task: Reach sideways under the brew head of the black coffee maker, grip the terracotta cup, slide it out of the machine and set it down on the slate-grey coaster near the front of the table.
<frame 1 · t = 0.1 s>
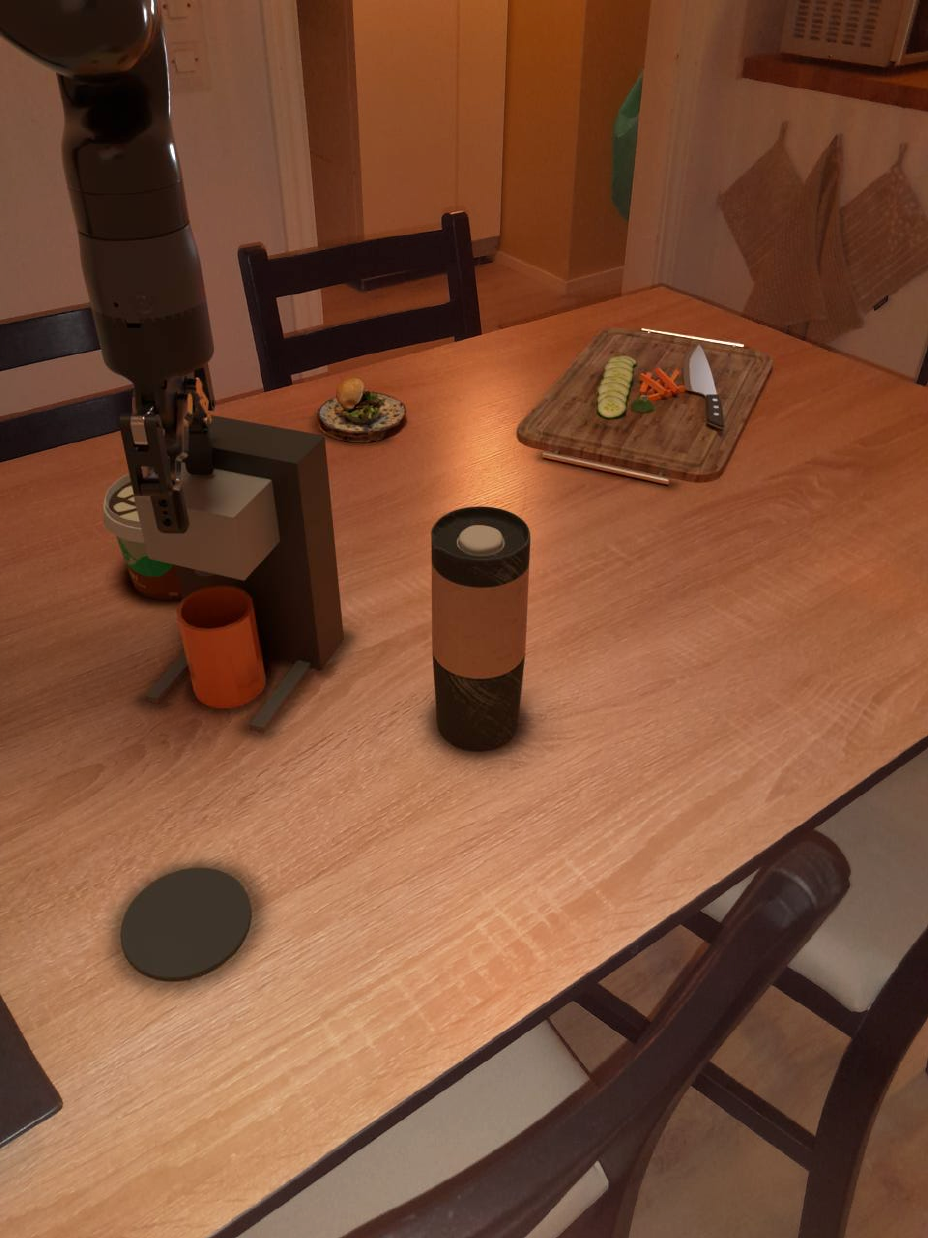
hand: (188, 500, 75), 20 cm above the table, tool pointing down, fingers open, 8 cm apart
cup: (230, 685, 88), on the table
coaster: (187, 924, 69), on the table
travel mug: (477, 724, 85), on the table
coffee maker: (244, 668, 90), on the table
chopping board: (652, 401, 135), on the table
food container: (155, 586, 101), on the table
plate of food: (362, 423, 129), on the table
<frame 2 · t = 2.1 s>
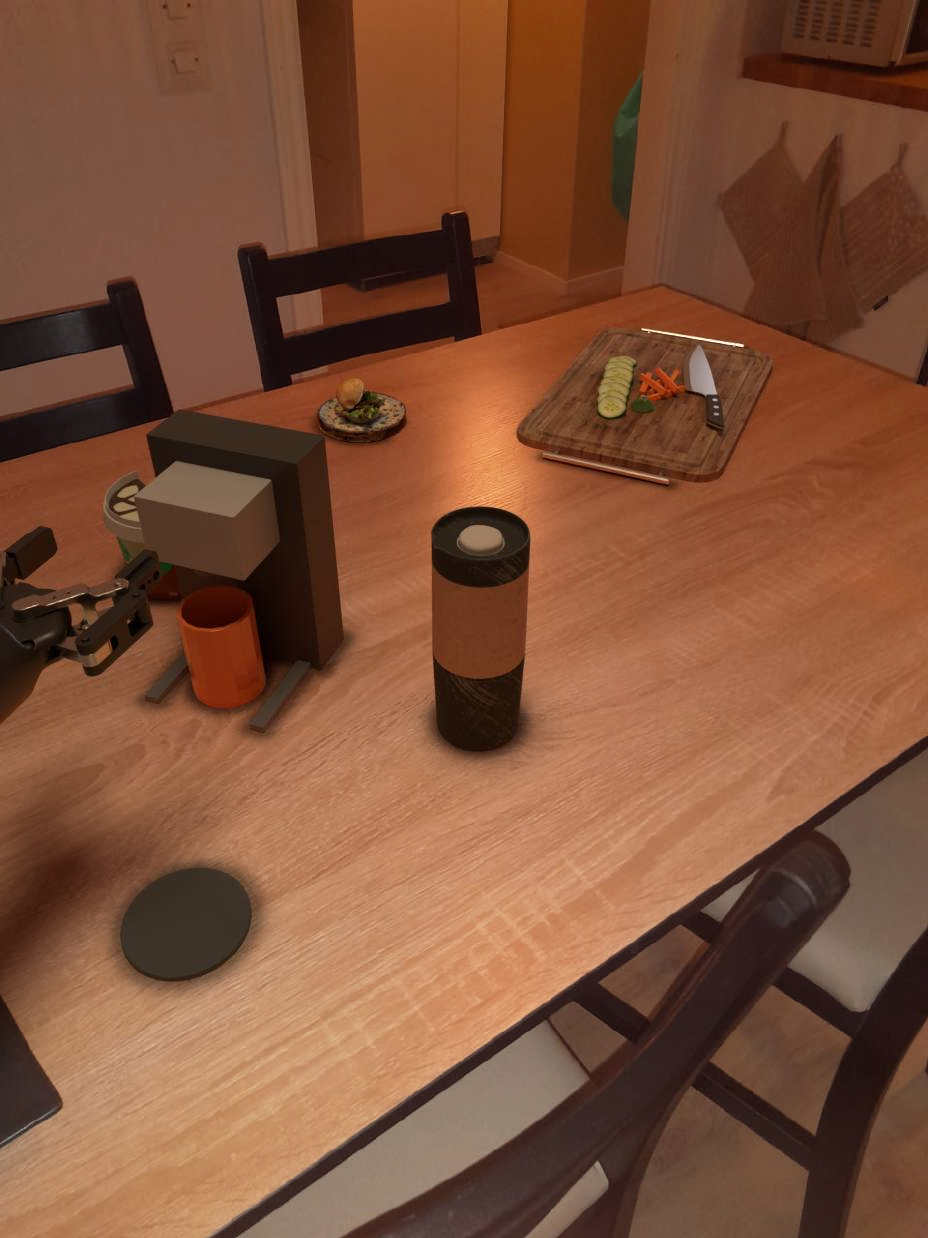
hand: (101, 548, 67), 22 cm above the table, tool horizontal, fingers open, 8 cm apart
nothing on the table moved.
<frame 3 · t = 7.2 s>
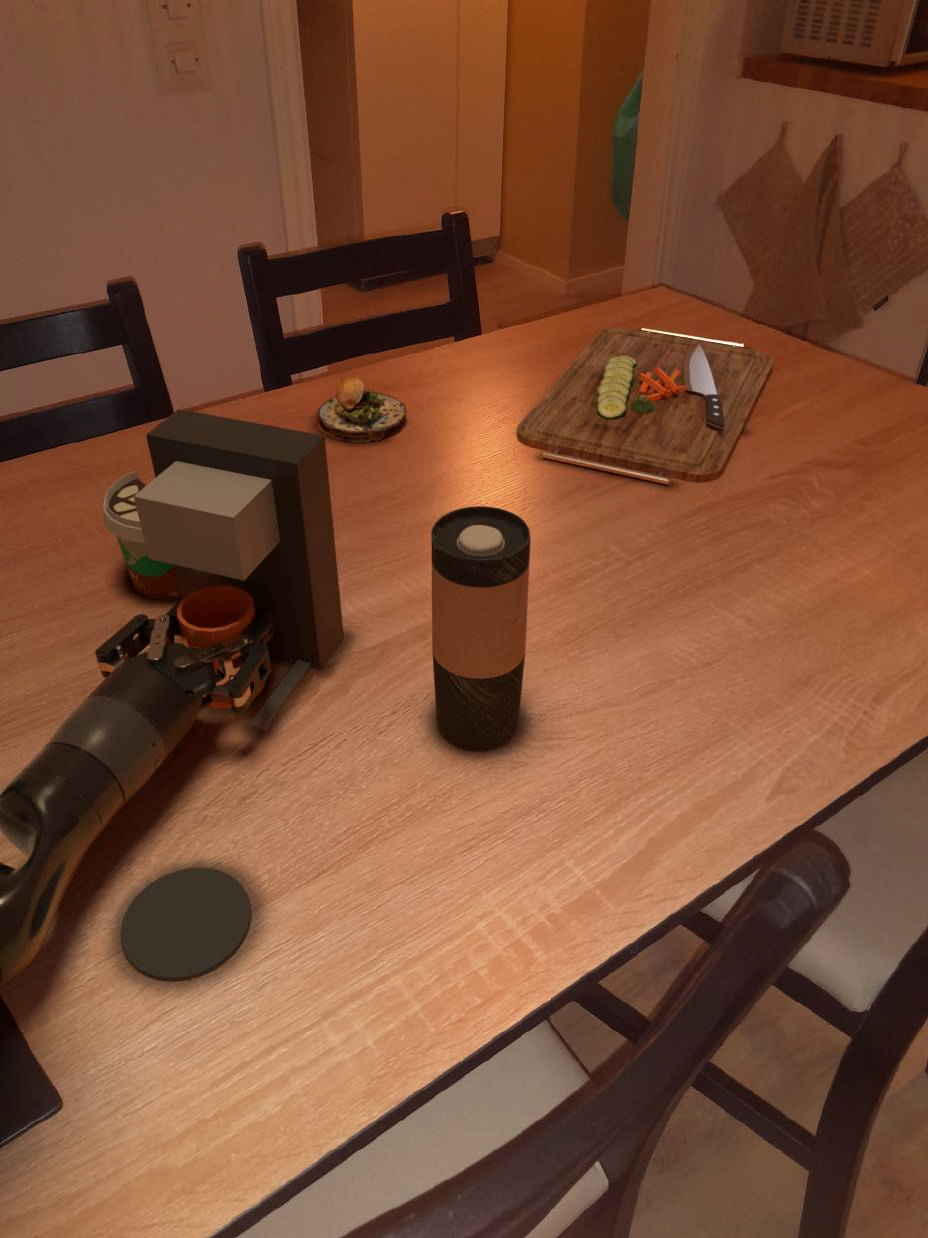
hand: (231, 610, 86), 7 cm above the table, tool horizontal, fingers closed on cup, 6 cm apart
cup: (230, 685, 89), on the table, touching gripper
everything else where it was.
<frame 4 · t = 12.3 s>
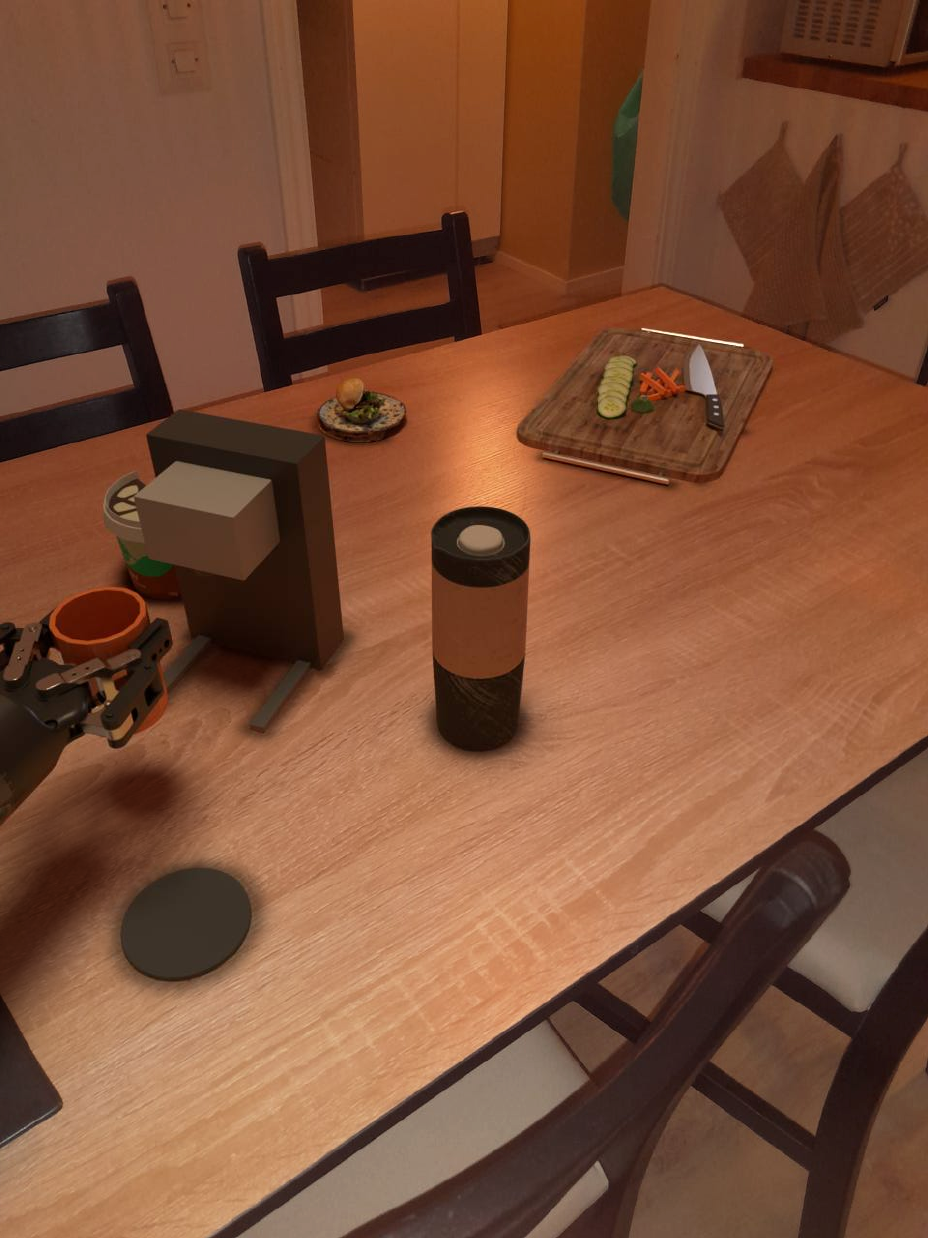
hand: (123, 617, 70), 16 cm above the table, tool horizontal, fingers closed on cup, 6 cm apart
cup: (124, 707, 73), point 9 cm above the table, touching gripper
everything else where it was.
when the fingers open (8 cm above the table, at t = 17.7 s): cup stays where it is, resting on coaster.
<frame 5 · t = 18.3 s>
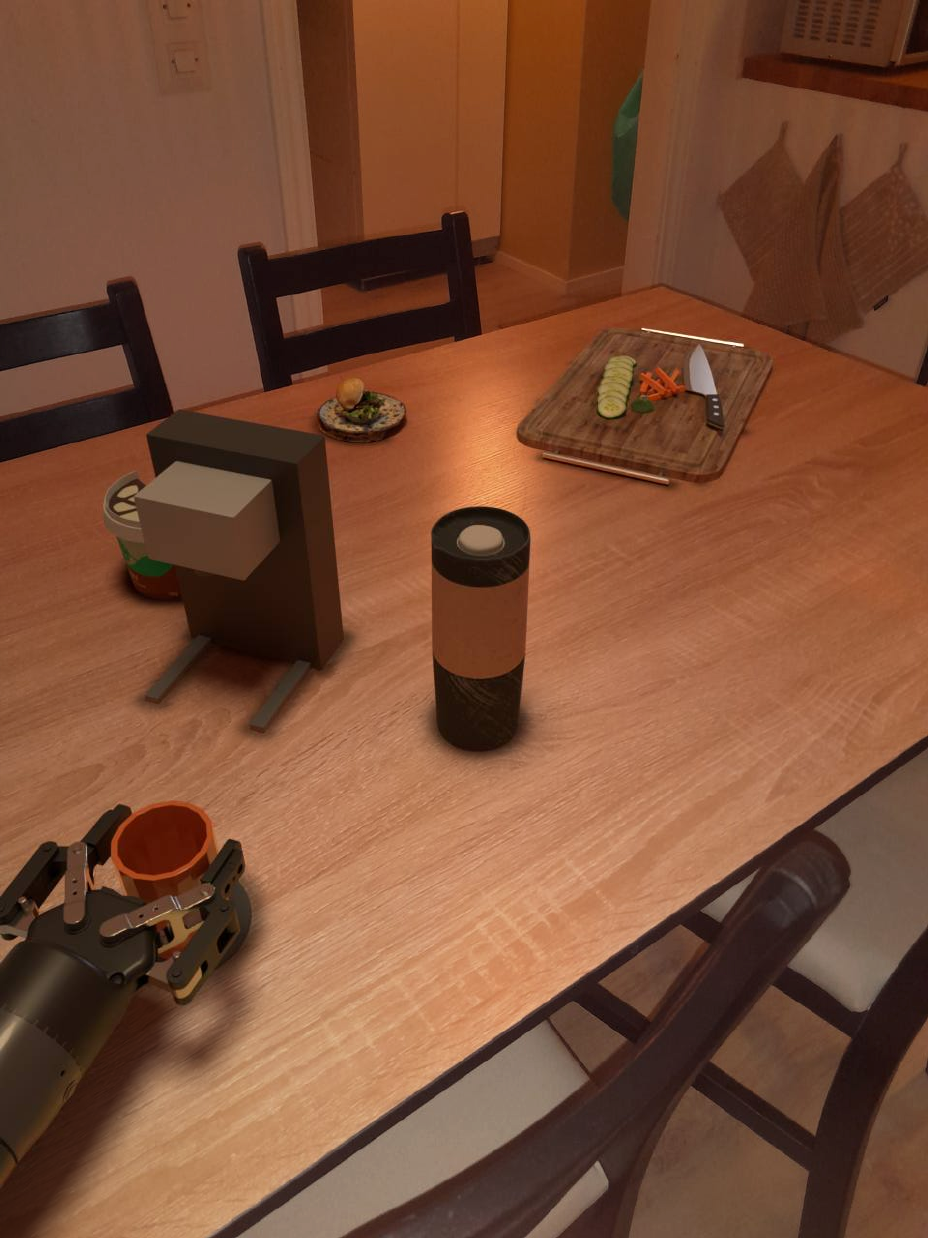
hand: (181, 829, 65), 8 cm above the table, tool horizontal, fingers open, 8 cm apart
cup: (186, 920, 68), point 1 cm above the table, touching coaster
everything else where it was.
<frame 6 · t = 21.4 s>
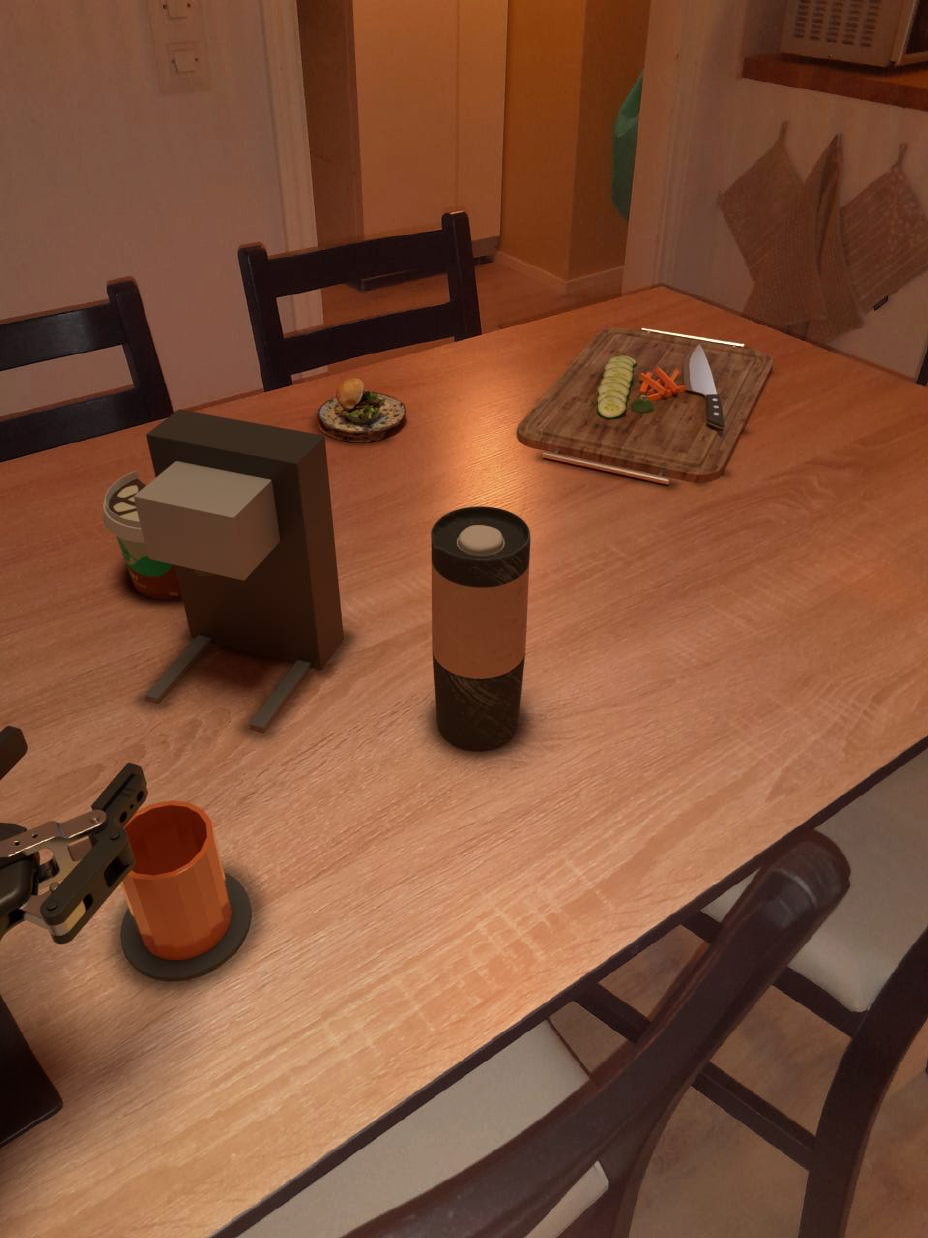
hand: (78, 754, 58), 18 cm above the table, tool horizontal, fingers open, 8 cm apart
nothing on the table moved.
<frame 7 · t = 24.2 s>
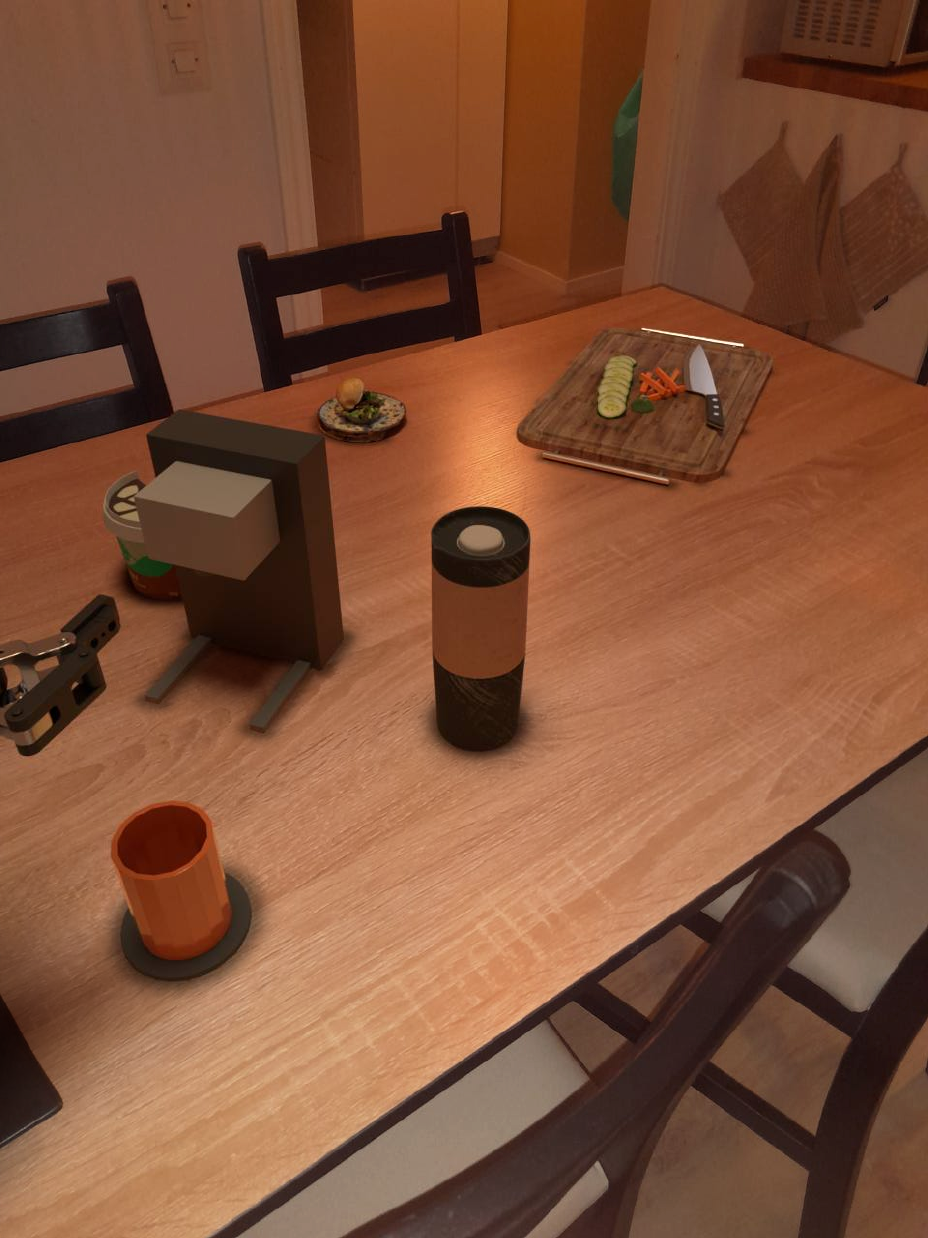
hand: (50, 591, 56), 26 cm above the table, tool horizontal, fingers open, 8 cm apart
nothing on the table moved.
at the end: cup inside the target area on the coaster (0.1 cm from its centre), point 0.6 cm above the coaster's base; cup tilted 0°; the gripper is holding nothing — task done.
